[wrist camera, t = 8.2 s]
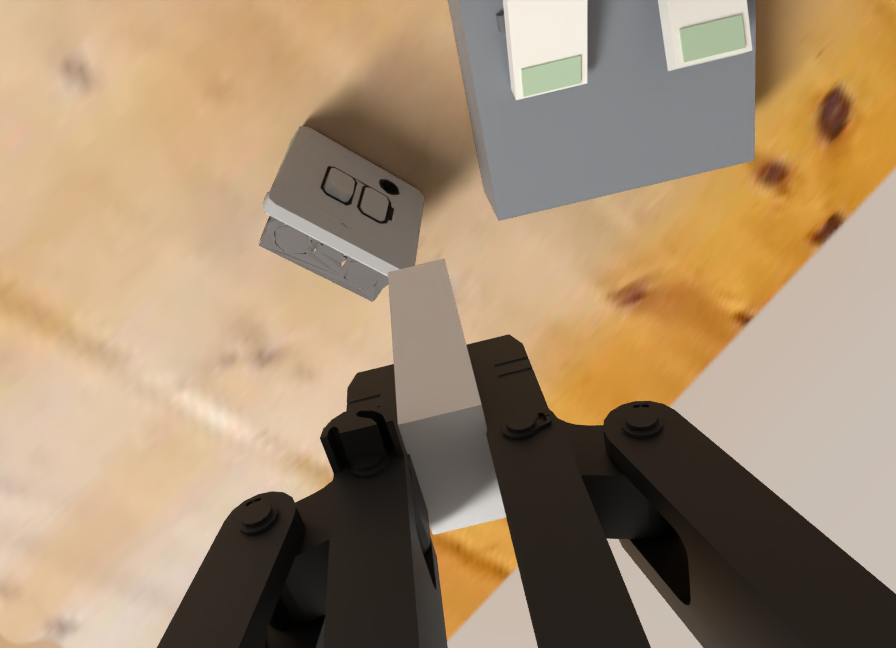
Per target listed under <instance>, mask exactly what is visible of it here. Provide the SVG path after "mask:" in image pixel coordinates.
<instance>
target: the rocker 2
mask: <svg viewBox="0 0 896 648" xmlns="http://www.w3.org/2000/svg"><path fill="white" fill-rule="evenodd" d="M658 5H659V12H660V19H661V26H662V33H663V40H664V47H665V54H666V61H667V68H668V71H672V70H676V69H680V68H684V67H688V66H693V65H697V64H701V63H705V62H710V61H714V60H718V59H722V58H726V57H731V56H735V55H739V54H743V53H746V52H749V51H752V42H751V34H750V25H749V16H748V7H747V0H658Z"/></svg>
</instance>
